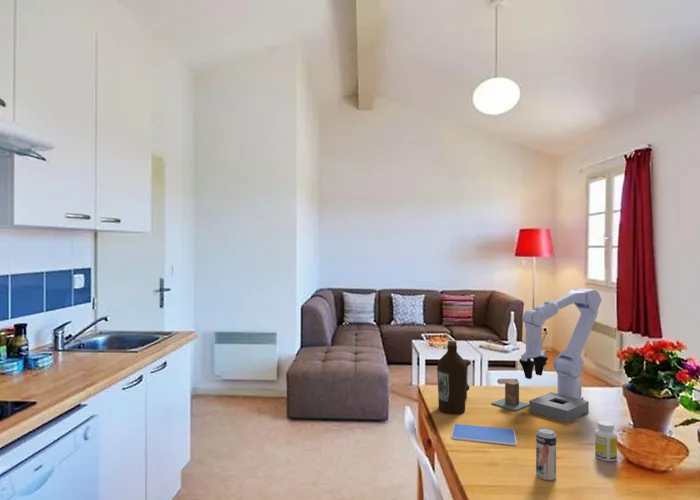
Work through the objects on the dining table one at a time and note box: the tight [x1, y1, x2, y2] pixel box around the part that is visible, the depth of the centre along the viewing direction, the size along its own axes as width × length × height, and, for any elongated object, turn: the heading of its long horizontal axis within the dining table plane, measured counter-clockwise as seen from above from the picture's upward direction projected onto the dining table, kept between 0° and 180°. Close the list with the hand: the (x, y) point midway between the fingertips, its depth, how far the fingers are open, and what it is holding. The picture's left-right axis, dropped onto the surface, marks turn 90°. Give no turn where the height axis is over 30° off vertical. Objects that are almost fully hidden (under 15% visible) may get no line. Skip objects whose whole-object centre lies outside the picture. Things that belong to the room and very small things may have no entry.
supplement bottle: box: [594, 420, 618, 462], centre depth 134 cm, size 5×5×10 cm
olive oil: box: [436, 340, 468, 415], centre depth 174 cm, size 11×11×25 cm
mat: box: [491, 397, 529, 412], centre depth 180 cm, size 10×10×1 cm
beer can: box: [535, 427, 557, 482], centre depth 123 cm, size 5×5×12 cm
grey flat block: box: [528, 391, 590, 423], centre depth 173 cm, size 16×14×4 cm
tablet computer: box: [450, 423, 518, 446], centre depth 151 cm, size 19×13×1 cm, turn 74°
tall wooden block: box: [504, 380, 520, 406], centre depth 179 cm, size 4×4×8 cm
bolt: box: [462, 358, 472, 400], centre depth 187 cm, size 6×5×15 cm
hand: (533, 376), depth 183 cm, fingers open, 7 cm apart
